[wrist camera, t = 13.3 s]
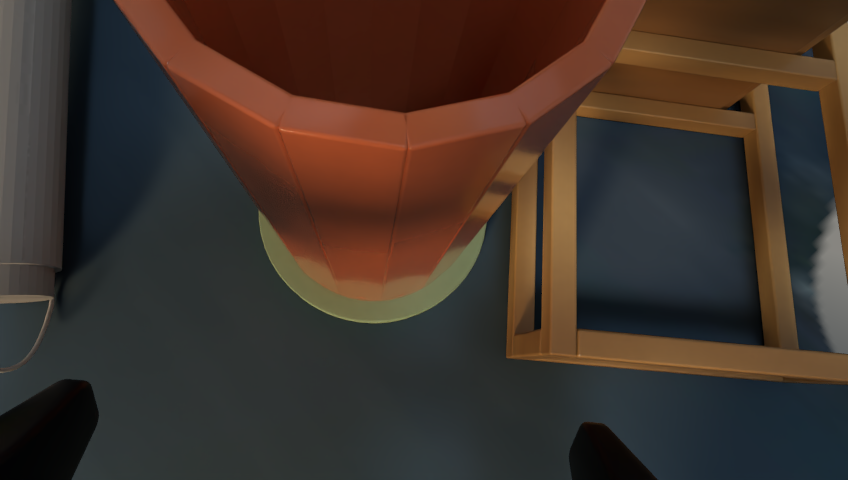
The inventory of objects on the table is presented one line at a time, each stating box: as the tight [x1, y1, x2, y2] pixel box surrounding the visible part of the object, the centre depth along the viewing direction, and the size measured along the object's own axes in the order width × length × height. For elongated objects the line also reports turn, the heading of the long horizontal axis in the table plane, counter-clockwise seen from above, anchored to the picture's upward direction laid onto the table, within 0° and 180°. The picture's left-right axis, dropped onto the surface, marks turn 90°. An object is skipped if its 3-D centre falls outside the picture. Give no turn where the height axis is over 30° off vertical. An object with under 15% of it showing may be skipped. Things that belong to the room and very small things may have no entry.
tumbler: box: [113, 0, 647, 301], centre depth 12 cm, size 7×7×12 cm
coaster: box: [259, 211, 486, 323], centre depth 18 cm, size 8×8×1 cm
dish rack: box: [506, 0, 848, 385], centre depth 14 cm, size 14×11×12 cm
